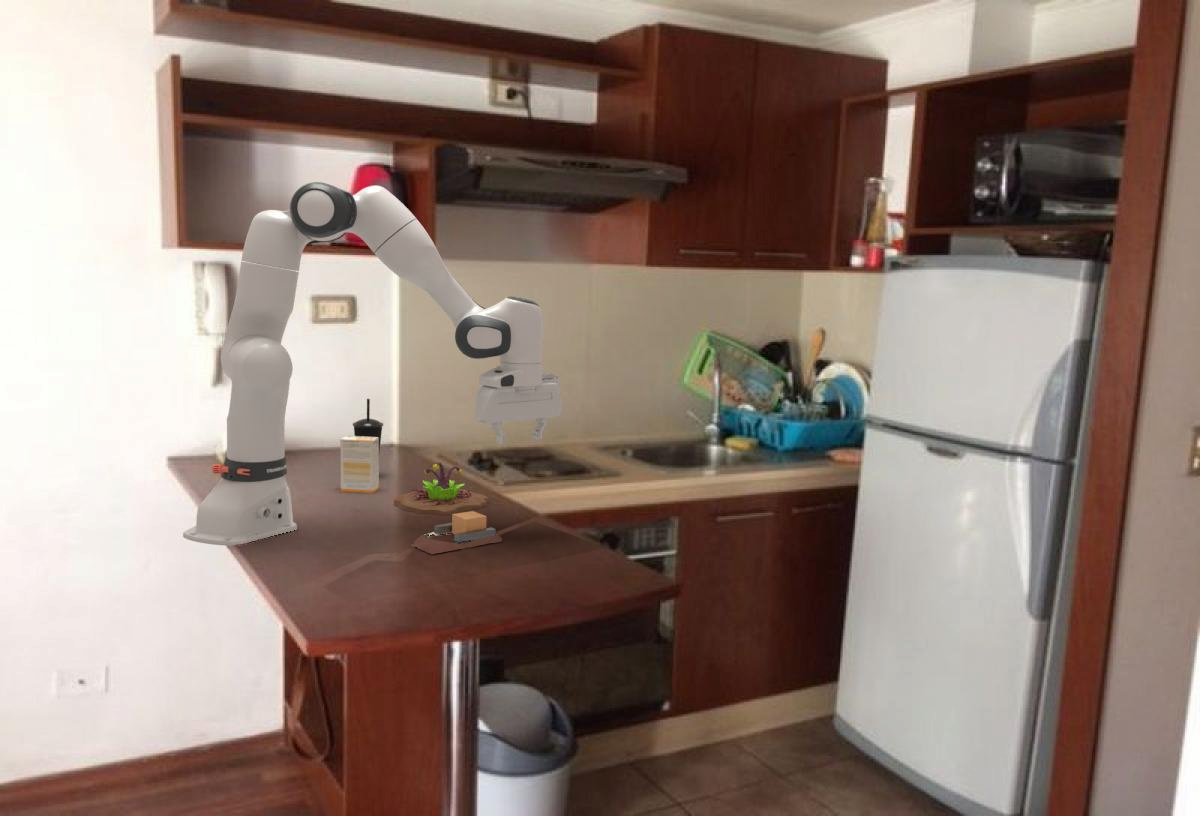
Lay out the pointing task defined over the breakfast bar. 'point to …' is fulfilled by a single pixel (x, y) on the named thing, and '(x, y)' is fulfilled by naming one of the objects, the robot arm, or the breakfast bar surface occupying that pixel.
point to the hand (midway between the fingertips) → (519, 440)
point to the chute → (464, 535)
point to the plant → (440, 496)
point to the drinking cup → (368, 426)
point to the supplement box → (359, 464)
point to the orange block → (468, 522)
